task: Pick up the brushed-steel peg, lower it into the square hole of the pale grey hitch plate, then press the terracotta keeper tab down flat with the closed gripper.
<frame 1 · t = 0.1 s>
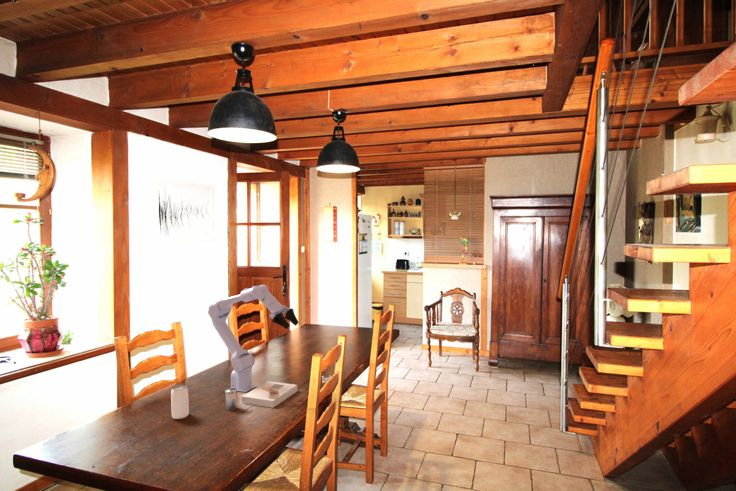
hand: (292, 325, 196), 32 cm above the table, tool tilted 50°, fingers open, 7 cm apart
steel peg: (231, 408, 184), on the table
can: (180, 416, 178), on the table
adjustable wrench: (319, 387, 208), on the table
hitch plate: (270, 396, 196), on the table
keeper tab: (270, 390, 190), point 5 cm above the table, hinge at 30.6°, touching hitch plate
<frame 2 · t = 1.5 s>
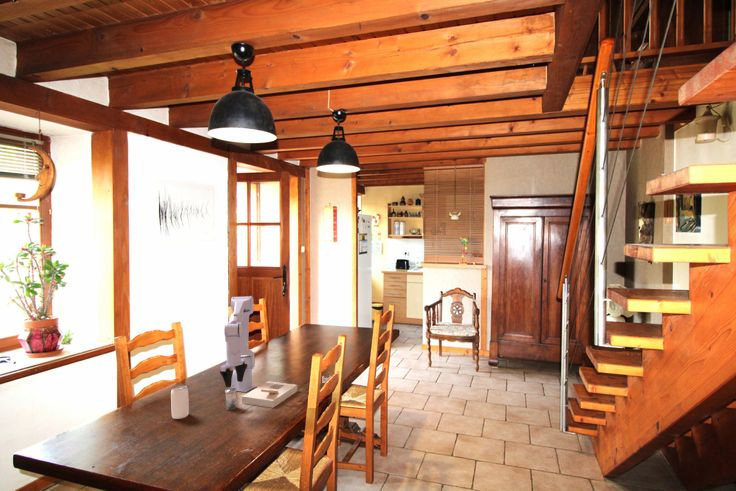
hand: (234, 384, 183), 11 cm above the table, tool pointing down, fingers open, 7 cm apart
keeper tab: (269, 391, 190), point 5 cm above the table, hinge at 22.0°
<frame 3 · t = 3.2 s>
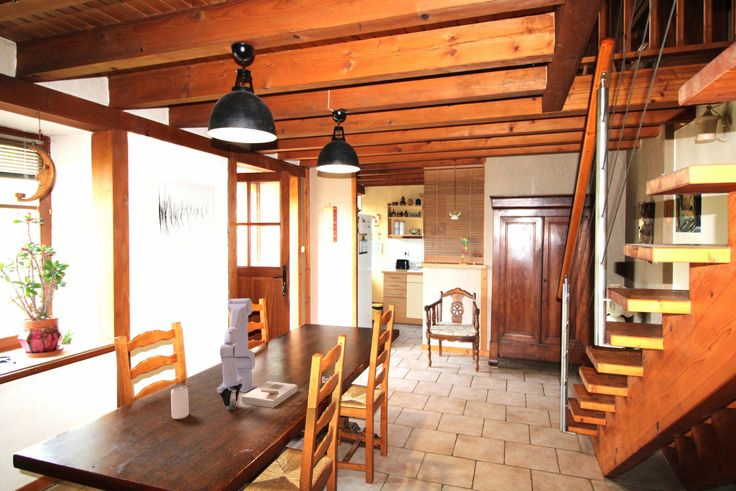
hand: (230, 403, 184), 2 cm above the table, tool pointing down, fingers closed on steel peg, 4 cm apart
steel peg: (231, 408, 184), on the table, touching gripper
keeper tab: (269, 391, 190), point 5 cm above the table, hinge at 21.4°
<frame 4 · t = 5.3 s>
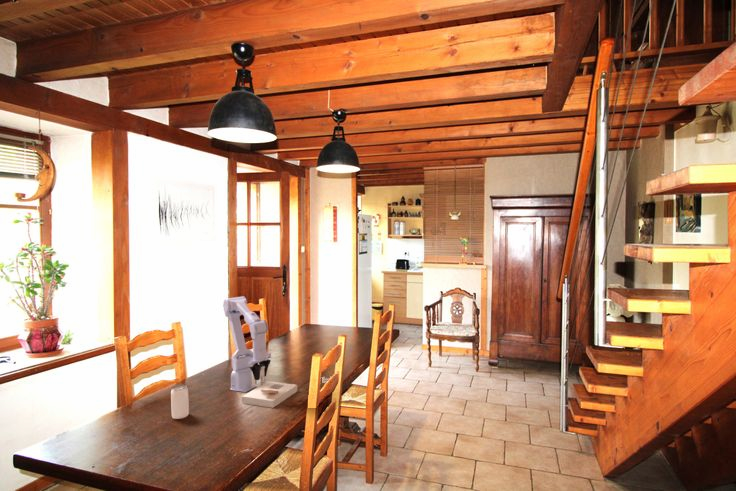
hand: (260, 377, 194), 9 cm above the table, tool pointing down, fingers closed on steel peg, 4 cm apart
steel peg: (260, 383, 194), point 7 cm above the table, touching gripper
when the fingers open (4 cm above the table, at t = 7.7 s): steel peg drops 1 cm, resting in hitch plate.
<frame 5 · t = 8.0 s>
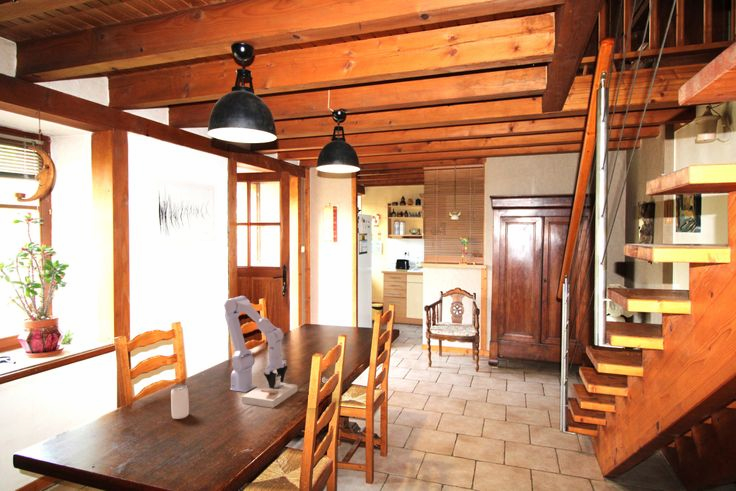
hand: (276, 384, 200), 4 cm above the table, tool pointing down, fingers open, 7 cm apart
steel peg: (276, 393, 201), resting in hitch plate
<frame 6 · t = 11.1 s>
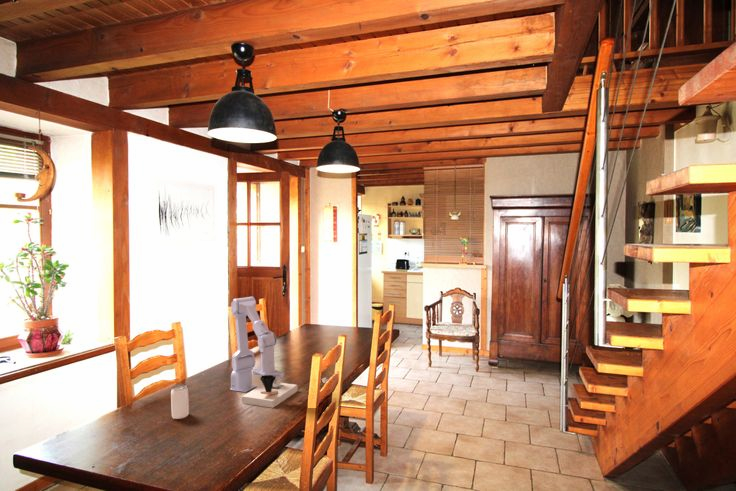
hand: (268, 392, 189), 5 cm above the table, tool pointing down, fingers closed, pressing on keeper tab
keeper tab: (269, 392, 190), point 4 cm above the table, hinge at 14.9°, touching gripper
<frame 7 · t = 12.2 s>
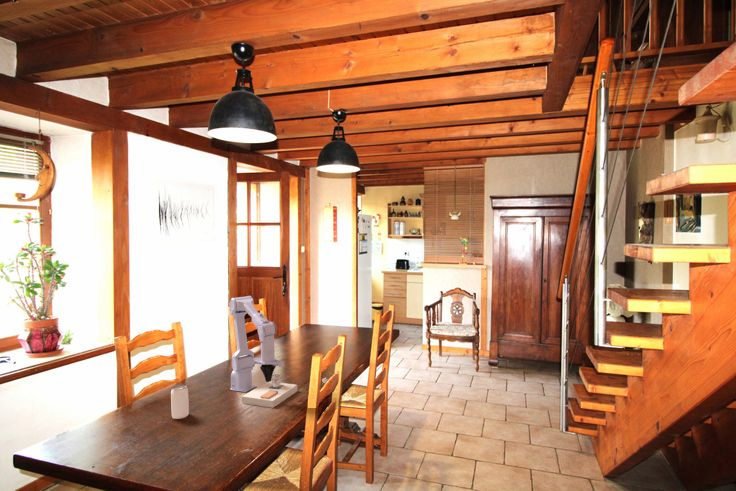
hand: (268, 381, 189), 9 cm above the table, tool pointing down, fingers closed
keeper tab: (269, 394, 190), point 3 cm above the table, hinge at -1.0°, touching hitch plate
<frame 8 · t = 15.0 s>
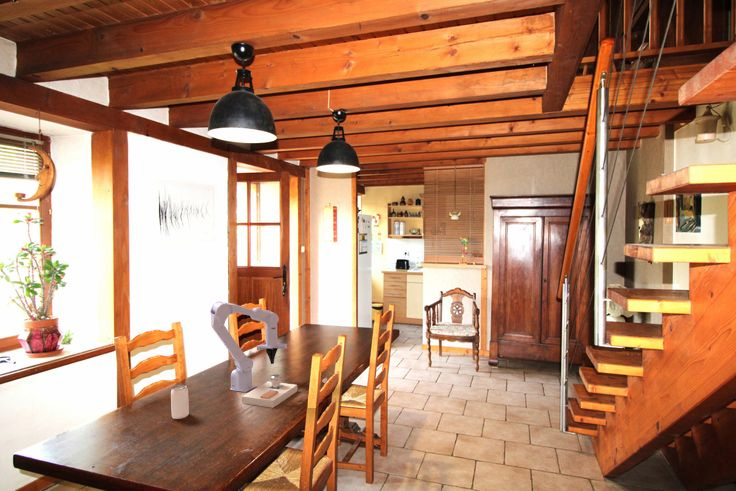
hand: (272, 363, 215), 9 cm above the table, tool pointing down, fingers closed
keeper tab: (269, 394, 190), point 3 cm above the table, hinge at -0.5°, touching hitch plate
at the end: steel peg 0.1 cm from the target spot on the hitch plate, point 0.0 cm above the hitch plate's base; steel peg tilted 1° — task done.
